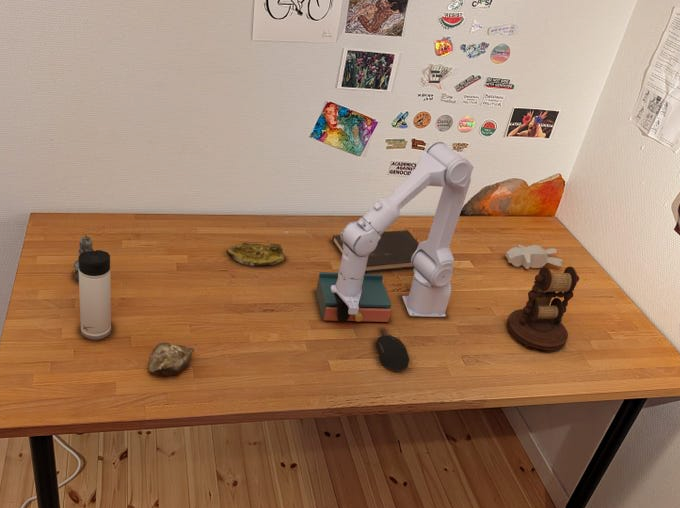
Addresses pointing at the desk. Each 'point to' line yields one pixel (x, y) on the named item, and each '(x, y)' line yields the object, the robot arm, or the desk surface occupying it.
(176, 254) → the desk surface
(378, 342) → the gaming mouse
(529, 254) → the bunny figurine
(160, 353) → the rock
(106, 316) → the travel mug
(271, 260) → the mossy rock
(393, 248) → the hardcover book
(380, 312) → the drawer
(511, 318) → the brown round-based upright piece
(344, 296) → the robot arm
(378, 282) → the teal drawer box
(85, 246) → the grey stone figurine
